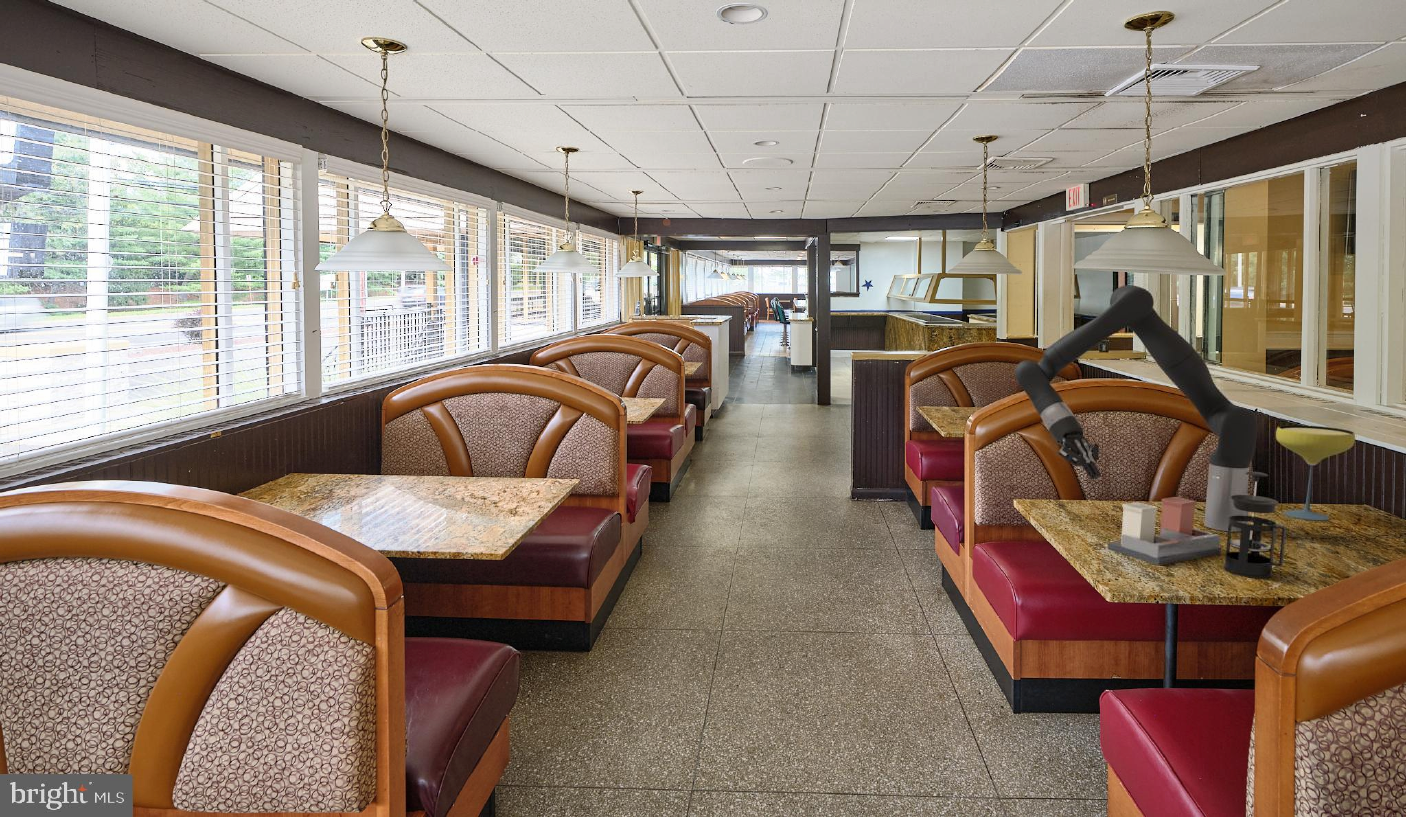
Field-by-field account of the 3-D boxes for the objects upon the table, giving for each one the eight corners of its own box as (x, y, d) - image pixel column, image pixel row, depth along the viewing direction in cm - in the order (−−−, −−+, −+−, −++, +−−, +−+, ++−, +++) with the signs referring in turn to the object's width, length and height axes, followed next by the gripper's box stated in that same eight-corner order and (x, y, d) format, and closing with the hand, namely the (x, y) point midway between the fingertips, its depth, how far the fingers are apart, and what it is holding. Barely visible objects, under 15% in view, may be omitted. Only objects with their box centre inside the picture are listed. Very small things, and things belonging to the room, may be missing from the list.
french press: (1214, 570, 193) (1222, 471, 190) (1227, 561, 199) (1236, 466, 196) (1274, 583, 184) (1284, 480, 181) (1286, 574, 191) (1296, 474, 188)
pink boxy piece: (1158, 537, 213) (1161, 498, 212) (1173, 535, 215) (1176, 496, 214) (1178, 543, 208) (1181, 503, 207) (1193, 540, 211) (1196, 501, 209)
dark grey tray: (1107, 548, 209) (1108, 531, 209) (1167, 538, 218) (1169, 521, 218) (1158, 565, 197) (1160, 546, 196) (1220, 553, 206) (1222, 535, 205)
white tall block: (1119, 544, 207) (1122, 504, 206) (1134, 541, 210) (1137, 502, 208) (1139, 550, 203) (1142, 509, 201) (1154, 547, 205) (1157, 507, 204)
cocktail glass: (1255, 512, 246) (1263, 427, 242) (1291, 505, 254) (1299, 423, 251) (1323, 527, 230) (1333, 436, 226) (1359, 519, 238) (1369, 432, 235)
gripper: (1051, 416, 220) (1087, 471, 210) (1088, 413, 225) (1124, 467, 216) (1034, 433, 225) (1068, 487, 216) (1070, 430, 231) (1105, 483, 221)
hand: (1096, 477), depth 216 cm, fingers closed
